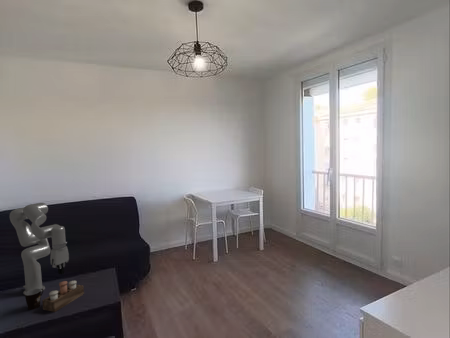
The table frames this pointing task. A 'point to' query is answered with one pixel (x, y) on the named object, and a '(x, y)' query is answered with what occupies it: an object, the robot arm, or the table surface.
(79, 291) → the socket block
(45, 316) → the table surface
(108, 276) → the table surface
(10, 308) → the table surface
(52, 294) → the cream plug
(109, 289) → the table surface
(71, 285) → the cream plug
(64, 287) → the terracotta plug
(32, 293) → the coffee mug
